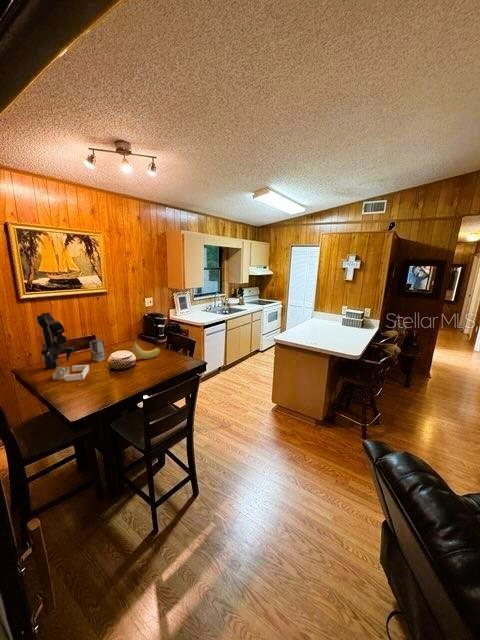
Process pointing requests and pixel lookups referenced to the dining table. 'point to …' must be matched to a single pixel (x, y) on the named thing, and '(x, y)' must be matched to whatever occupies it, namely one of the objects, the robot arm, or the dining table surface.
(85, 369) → the beige u-shaped block
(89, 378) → the dining table surface
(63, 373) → the crate with rolls
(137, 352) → the banana
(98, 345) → the coffee box
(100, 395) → the dining table surface
